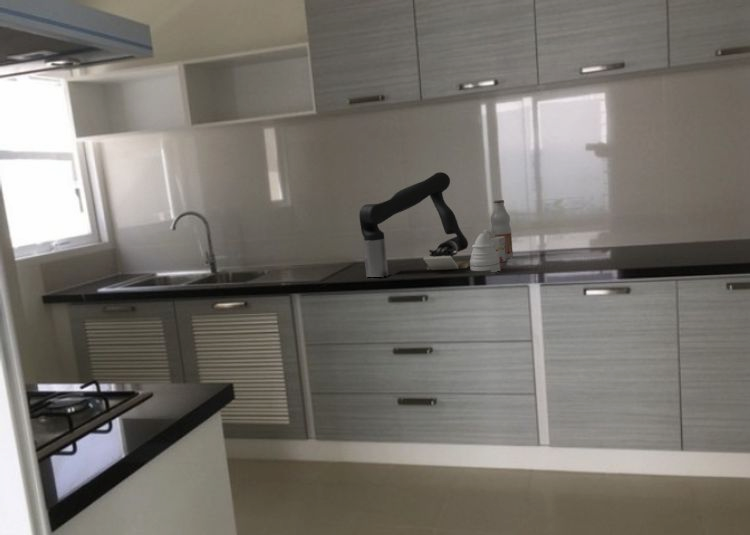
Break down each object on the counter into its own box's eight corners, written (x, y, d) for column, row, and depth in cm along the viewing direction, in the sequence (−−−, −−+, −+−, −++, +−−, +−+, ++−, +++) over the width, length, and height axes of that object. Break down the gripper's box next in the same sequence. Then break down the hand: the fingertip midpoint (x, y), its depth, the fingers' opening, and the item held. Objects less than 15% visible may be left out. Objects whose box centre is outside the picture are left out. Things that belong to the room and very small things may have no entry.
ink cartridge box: (500, 263, 300) (498, 231, 298) (490, 263, 303) (487, 232, 301) (506, 260, 307) (504, 229, 305) (496, 260, 310) (494, 230, 308)
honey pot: (500, 268, 287) (497, 227, 284) (499, 273, 274) (496, 230, 272) (471, 270, 290) (468, 230, 287) (469, 275, 277) (465, 233, 275)
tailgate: (433, 271, 292) (423, 259, 280) (433, 268, 293) (423, 256, 280) (459, 270, 288) (450, 258, 275) (459, 267, 288) (450, 255, 276)
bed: (427, 272, 294) (426, 266, 294) (434, 268, 305) (433, 262, 304) (466, 271, 288) (465, 264, 287) (471, 267, 298) (471, 260, 297)
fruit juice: (499, 260, 310) (495, 201, 306) (489, 258, 319) (485, 201, 315) (516, 257, 313) (512, 199, 309) (506, 256, 322) (502, 199, 318)
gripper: (432, 242, 296) (421, 247, 281) (461, 240, 292) (451, 245, 276) (434, 258, 297) (423, 264, 282) (462, 256, 293) (453, 263, 277)
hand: (437, 255), depth 279 cm, fingers closed
